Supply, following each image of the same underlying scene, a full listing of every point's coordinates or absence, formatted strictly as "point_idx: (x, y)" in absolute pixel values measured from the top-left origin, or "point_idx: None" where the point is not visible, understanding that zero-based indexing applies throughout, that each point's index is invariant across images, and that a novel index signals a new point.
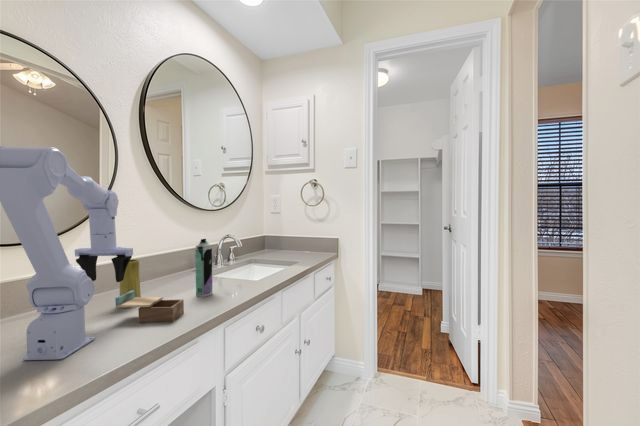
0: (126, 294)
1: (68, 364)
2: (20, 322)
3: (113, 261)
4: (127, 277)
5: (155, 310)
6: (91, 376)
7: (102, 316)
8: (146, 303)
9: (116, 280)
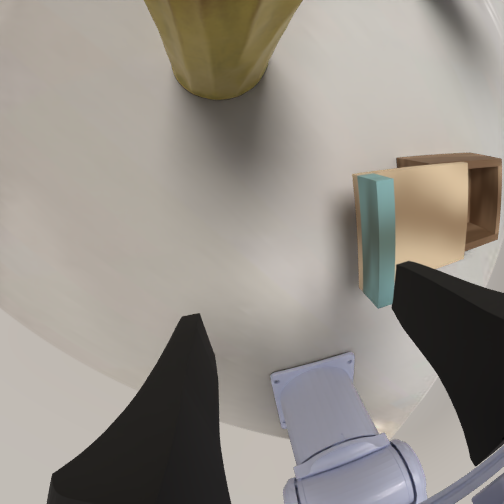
0: (394, 252)
1: (367, 406)
2: (19, 299)
3: (475, 441)
4: (260, 37)
5: None
6: (413, 404)
7: (219, 207)
8: (451, 248)
9: (400, 318)
